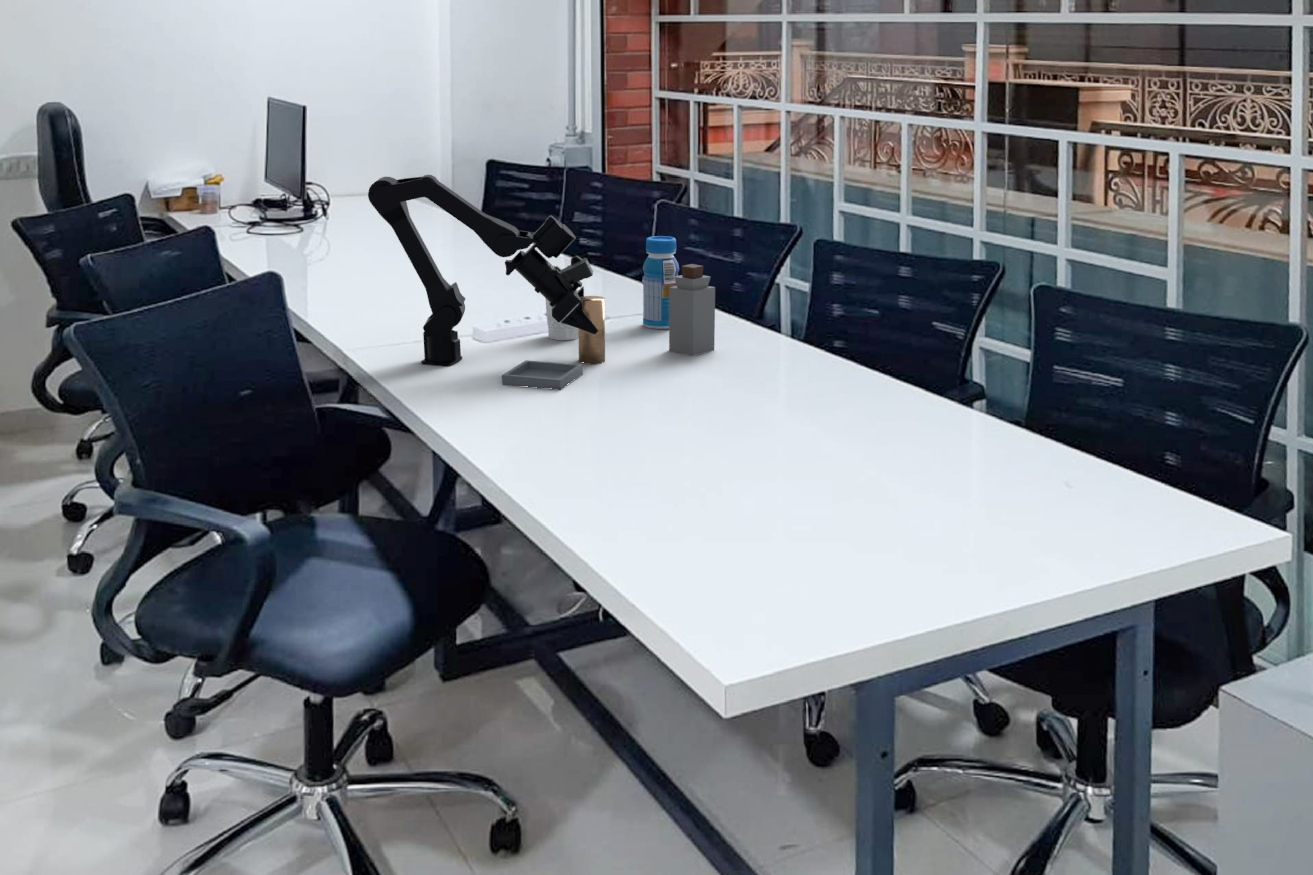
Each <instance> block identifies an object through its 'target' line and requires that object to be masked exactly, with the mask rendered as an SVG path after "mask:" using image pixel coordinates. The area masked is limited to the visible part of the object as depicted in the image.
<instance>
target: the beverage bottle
mask: <svg viewBox="0 0 1313 875" xmlns="http://www.w3.org/2000/svg"><path fill="white" fill-rule="evenodd" d="M645 251H646V254H648V256H647V257H646V259H645V261H644V262H643V266H642V271H643V274H644V275H643V276H642V280H641V283H642V288H643V290H642V292H643V293H642V294H643V296H642V297H643V298H642V301H643V303H642V304H643V308H642V309H643V310H642V311H643V312H642V313H643V315H642V316H643V317H642V324H643V326H644V327H646V328H648V329H652V330H669V287H674V286H677V285H676V282H675V278H674V277H675V276H679V271H680V266H679V262H678V261H677V258H676V257H675V256H674V254H675V255H676V253H677V239H676V238H675V237H673V236H666V235H665V236H664V235H657V236H656V235H655V236H648V237H646V241H645Z"/></svg>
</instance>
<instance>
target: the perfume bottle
mask: <svg viewBox="0 0 1313 875" xmlns="http://www.w3.org/2000/svg"><path fill="white" fill-rule="evenodd" d="M703 272H704V265H699V264H695V263H690V264H685V265H681V275H678V276H675V277H674V278H675V282H676V285H677V286H674V287H669V329H668V330H669V332H668V335H669V336H668V337H669V338H668V344H669V346H668V347H669V348H668V350H669V351H671V352H674V353H679V354H684V355H688V356H693V357H694V356H697V355H702V354H704V353H709V352H712V351H715V322H716V320H715V319H716V287H715V286H709V283H710V280H711V278H712V277H711V276H709V275H704V274H703Z"/></svg>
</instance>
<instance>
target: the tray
mask: <svg viewBox="0 0 1313 875" xmlns="http://www.w3.org/2000/svg"><path fill="white" fill-rule="evenodd" d="M583 372H584V371H583V364H576V363H562V362H552V361H551V362H550V361H538V360H529V359H528V360H527V359H526V360H524V361H522V362H521V363H520V364H519V363H518V364H517V365H516V366H514V367H513V368H511V369H510V370H508V371H506V372H504V373H503V374H501V384H502V386H509V387H518V386H528V387H527V388H530V387H537V388H536V389H541V388H552V389H551V390H553V389H558V390H557V391H562V390H563V389H564V388H566V387H567V386H568V385H567V384H568V383H570V382H571V381H573V380H574V379H576V378H577V377H579V376H580V375H581V376H583V375H584V374H583ZM582 374H583V375H582ZM581 376H580V377H581ZM580 377H579V378H580ZM577 379H578V378H577ZM577 379H576V380H577ZM574 381H575V380H574ZM574 381H573V382H574ZM570 384H571V383H570ZM565 386H566V387H565ZM562 388H563V389H562ZM561 389H562V390H561Z"/></svg>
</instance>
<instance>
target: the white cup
mask: <svg viewBox="0 0 1313 875" xmlns="http://www.w3.org/2000/svg"><path fill="white" fill-rule="evenodd" d="M577 290H578V289H577ZM579 290H580V289H579ZM579 290H578V291H579ZM549 303H550V302H549V301H548V300H547V299H546V298H545V312H546V313H545V314H546V322H547V324H546V325H547V329H548V338H549V339H551V340H554V341H572V340H577V339H578V328H576V327H573V326H570V325H567V324H564V323H563V324H562V323H561V321H560V322H559V323H558V322H557V321H556V320H555V319H554V318H553V317H552V306H551V305H550V304H549Z"/></svg>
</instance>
